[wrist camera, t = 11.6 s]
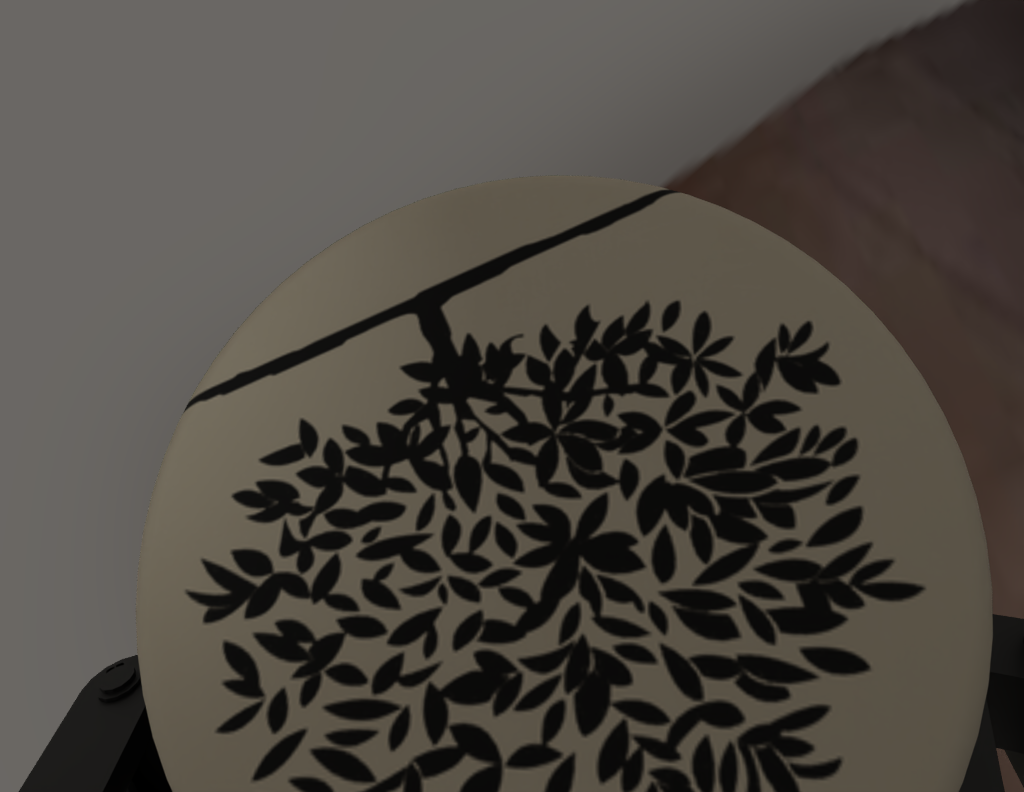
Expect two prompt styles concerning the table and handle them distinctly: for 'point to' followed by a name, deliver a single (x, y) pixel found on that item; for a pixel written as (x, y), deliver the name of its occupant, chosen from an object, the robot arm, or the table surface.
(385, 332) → the travel mug
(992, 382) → the table surface
